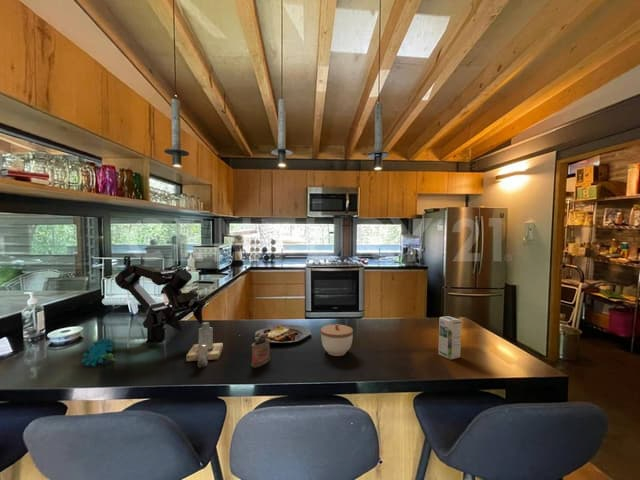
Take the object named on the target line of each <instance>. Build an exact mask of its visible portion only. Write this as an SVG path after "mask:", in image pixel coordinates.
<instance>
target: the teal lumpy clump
mask: <svg viewBox="0 0 640 480" xmlns="http://www.w3.org/2000/svg"><path fill="white" fill-rule="evenodd" d="M92 344H93V347H92V346H88V347H87V348H86V350H87V351H88V352H89V353H87V352H84V353H83V355H82V356H83V359H82V363H83V364H84V365H85V366H86V367H89V366H91V367H96V366H97V363H98V364H102V363H104V359H105V360H108V361H110V360H111V361H113V362H115V361H116V359H115V358H114V354H113V353H111V352H112V351H113V350H114V347H113V345H114V342H113V341H111V340H110V339H109V338H108V337H107V338H106V339H105V338H100V340H99V342H98V341H94V342H93V343H92ZM108 351H109V353H107V352H108Z"/></svg>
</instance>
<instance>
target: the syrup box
mask: <svg viewBox="0 0 640 480" xmlns="http://www.w3.org/2000/svg"><path fill="white" fill-rule="evenodd" d="M438 320H439V321H438V322H439V323H438V355H439V356H442V357H444V358H446V359H448V360H454V359H458V358H461V347H462V346H461V341H462V338H461V336H462V319H458V318H456V317H452V316H449V315H448V316H447V315H446V316H440V317H439V319H438Z"/></svg>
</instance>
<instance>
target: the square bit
mask: <svg viewBox="0 0 640 480" xmlns="http://www.w3.org/2000/svg"><path fill="white" fill-rule="evenodd" d="M213 343H214V327H211V323H210V322H208V321H205V322H203V323H202V325H201V327H199V328H198V344H199V345H200V344H207V345H208V352H209V351H212V350H213Z"/></svg>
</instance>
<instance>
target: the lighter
mask: <svg viewBox="0 0 640 480" xmlns="http://www.w3.org/2000/svg"><path fill="white" fill-rule="evenodd" d="M266 337H268V333H265V334H262V335H258V336H257V337H254V342H253V343H252V344H251V349H252V350H251V367H252V368H258V367H261V366H264V365H265V364H267V363H268V362H270V360H271V357H270V343H269V342H270V339H266Z"/></svg>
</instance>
